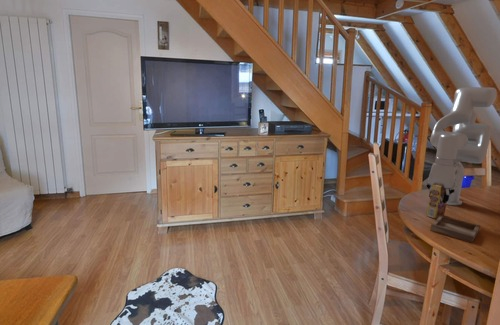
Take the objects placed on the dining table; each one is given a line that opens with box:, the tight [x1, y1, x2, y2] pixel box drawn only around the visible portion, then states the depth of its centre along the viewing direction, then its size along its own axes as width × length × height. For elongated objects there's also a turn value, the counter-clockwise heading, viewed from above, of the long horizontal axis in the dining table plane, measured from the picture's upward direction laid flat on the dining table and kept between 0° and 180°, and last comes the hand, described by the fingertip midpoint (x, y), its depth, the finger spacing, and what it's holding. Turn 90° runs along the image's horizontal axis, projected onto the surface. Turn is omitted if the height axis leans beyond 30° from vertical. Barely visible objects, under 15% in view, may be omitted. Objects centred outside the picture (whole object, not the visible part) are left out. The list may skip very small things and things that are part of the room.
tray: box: [430, 215, 481, 244], centre depth 127 cm, size 14×14×2 cm
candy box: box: [426, 184, 447, 220], centre depth 141 cm, size 9×4×15 cm, turn 124°
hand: (438, 200), depth 141 cm, fingers closed on candy box, 4 cm apart
